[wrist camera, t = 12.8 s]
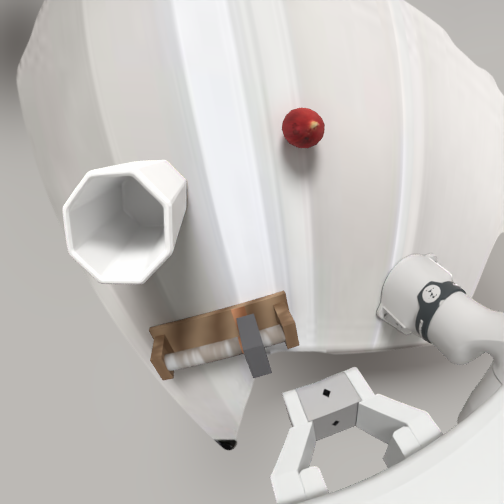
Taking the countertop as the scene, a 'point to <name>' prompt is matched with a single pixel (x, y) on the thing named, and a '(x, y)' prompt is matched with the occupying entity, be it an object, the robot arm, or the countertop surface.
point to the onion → (303, 127)
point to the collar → (253, 346)
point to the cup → (125, 220)
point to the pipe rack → (219, 334)
